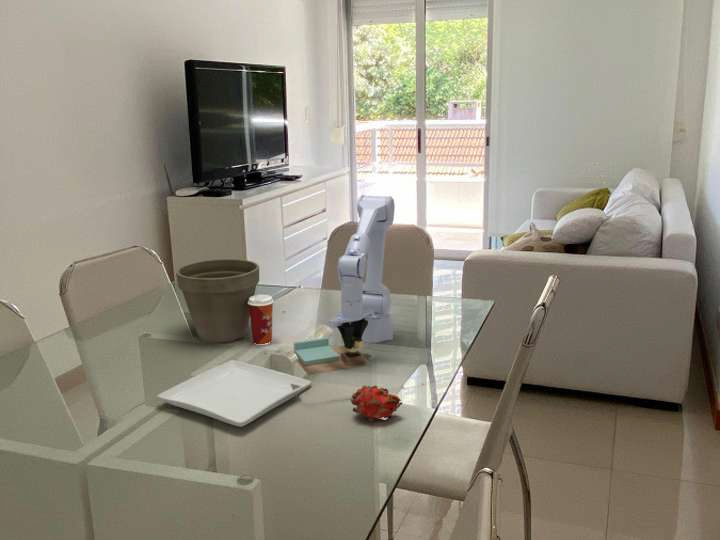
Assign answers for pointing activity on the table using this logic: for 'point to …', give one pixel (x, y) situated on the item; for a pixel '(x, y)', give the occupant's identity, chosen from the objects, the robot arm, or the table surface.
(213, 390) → the square plate
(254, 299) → the paper cup
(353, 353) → the tan block with knob
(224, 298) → the plant pot
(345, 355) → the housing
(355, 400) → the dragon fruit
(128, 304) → the table surface
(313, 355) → the cover
